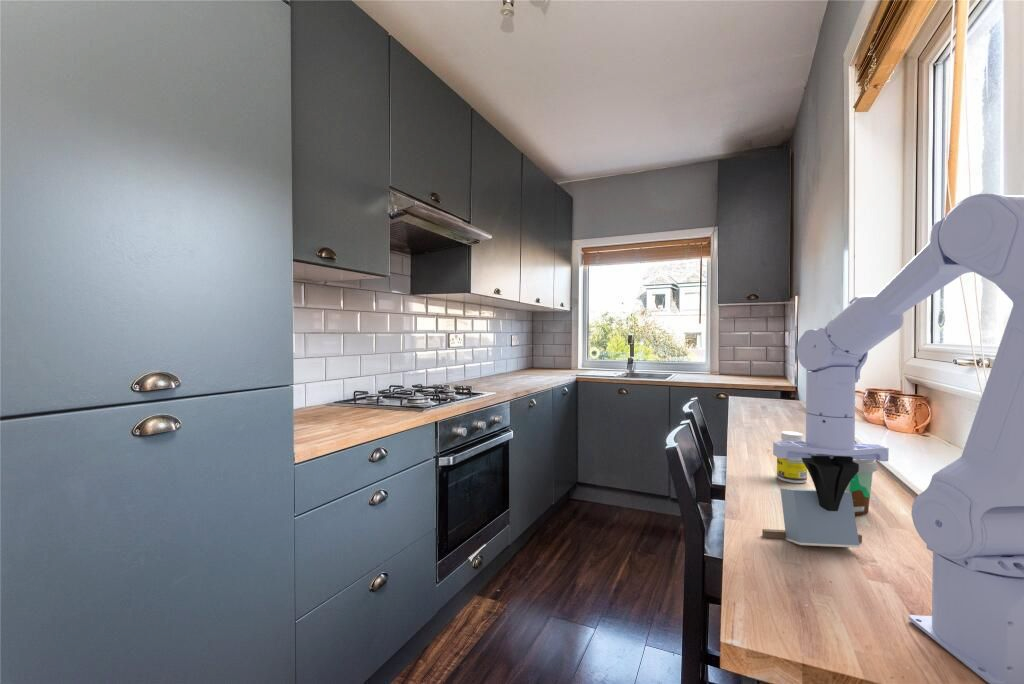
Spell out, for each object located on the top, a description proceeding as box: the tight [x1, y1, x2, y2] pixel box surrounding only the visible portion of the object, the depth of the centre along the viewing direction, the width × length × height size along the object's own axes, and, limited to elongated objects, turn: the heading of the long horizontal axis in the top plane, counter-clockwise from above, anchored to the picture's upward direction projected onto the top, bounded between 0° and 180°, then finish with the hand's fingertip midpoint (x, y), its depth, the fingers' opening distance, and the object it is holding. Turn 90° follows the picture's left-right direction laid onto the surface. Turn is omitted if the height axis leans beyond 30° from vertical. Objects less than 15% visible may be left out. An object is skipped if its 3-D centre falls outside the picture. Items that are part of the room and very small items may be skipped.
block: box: [780, 487, 860, 548], centre depth 66 cm, size 4×8×8 cm, turn 85°
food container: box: [845, 459, 879, 517], centre depth 81 cm, size 12×6×10 cm, turn 168°
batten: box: [761, 528, 863, 543], centre depth 68 cm, size 1×14×1 cm, turn 85°
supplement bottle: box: [776, 430, 808, 484], centre depth 96 cm, size 6×6×10 cm
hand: (828, 508), depth 64 cm, fingers closed
